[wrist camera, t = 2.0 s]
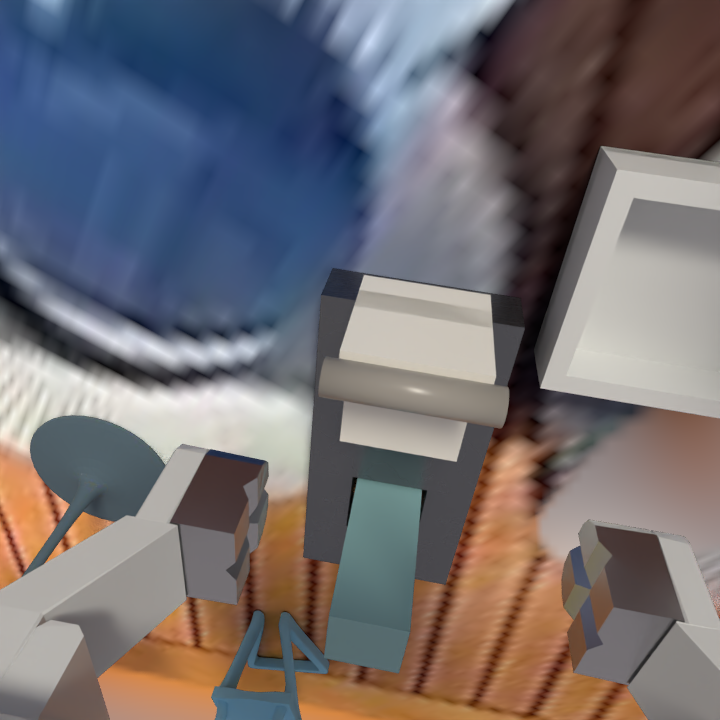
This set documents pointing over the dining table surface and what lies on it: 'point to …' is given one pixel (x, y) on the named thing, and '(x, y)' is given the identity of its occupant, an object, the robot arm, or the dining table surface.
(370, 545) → the block
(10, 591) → the robot arm
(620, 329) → the tray
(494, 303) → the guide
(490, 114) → the dining table surface
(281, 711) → the chair
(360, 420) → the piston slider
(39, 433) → the cocktail glass
